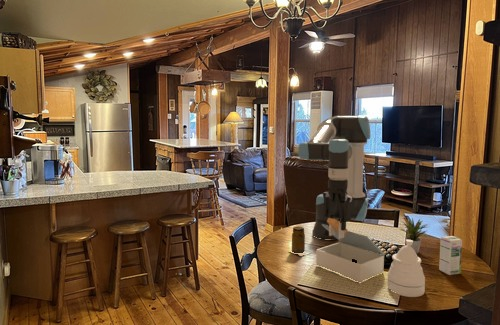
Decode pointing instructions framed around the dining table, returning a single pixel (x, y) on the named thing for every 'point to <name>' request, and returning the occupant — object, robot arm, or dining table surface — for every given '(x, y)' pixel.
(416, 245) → the house plant
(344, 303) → the dining table surface
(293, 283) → the dining table surface
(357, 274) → the mailer box
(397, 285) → the honey pot
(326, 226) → the lid
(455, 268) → the syrup box
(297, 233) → the condiment
